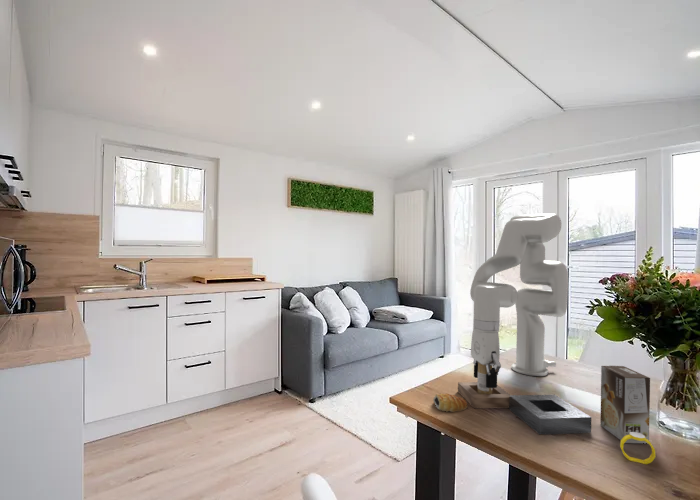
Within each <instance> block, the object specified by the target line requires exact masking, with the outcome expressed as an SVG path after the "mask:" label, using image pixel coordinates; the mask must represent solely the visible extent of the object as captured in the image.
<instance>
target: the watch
mask: <svg viewBox="0 0 700 500" xmlns="http://www.w3.org/2000/svg"><path fill="white" fill-rule="evenodd" d="M628 439H635V440H638V441H645V442H647V443H648V444H647V445H649V446H650V448H651V454H649V457H647V458H645V459H641V458H637V457H632V456H629V455H628V454H627V453H626V452H625V450H624V447H625V444H626V443H625V442H626V441H627V440H628ZM619 446H620V449H621V452H622V454H623V457H625V458H626V459H627V460H628V461H630V462H634V463H638V464H643V465H648V464H651V463H652V462H653V461H654V460H655V459H656V448H655V447H654V446H653V444H652V442H651V441H650V439H649V440H647V439H646V438H645V436H644V435H643V434H641V433H637V432H630V433H629V435H626V436H624V437H623V438H622V439H621V440H620V443H619Z"/></svg>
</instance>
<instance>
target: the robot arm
mask: <svg viewBox="0 0 700 500" xmlns="http://www.w3.org/2000/svg"><path fill="white" fill-rule="evenodd" d="M561 230H562V220H561V217H560V216H559V215H558V214H556V213H535V214H534V213H532V214H531V213H530V214H519V215H518V214H517V215H515V216H513V217H511V218H510V220H508V221H507V222H506V224H504V227H503V231H502V233H501V237H500V239H499V243H498V245H497V249H496V252H495V254H494V255H492V256H491V257H490V258H488V259H486V260H485V262H484V263H482V265H480V266H479V267H478V268H477V269H476V272H475V274H474V276H473V279H472V283H471V285H470V291H469V292H470V293H469V294H470V295H469V296H470V299H471V301H472V302H473V323H472V325H473V327H472V334H471V340H470V341H471V343H470V344H471V345H470V346H471V347H470V356H471V358H473V378H474V379H478V362H479V363H481V364H482V365H486V368H487V373H488V374H486V387H487V388H496V387H497V385H498V375H499V372H500V370H501V367H502V364H501V362H500V355H501V354H500V352H501V351H500V336H499V335H500V334H499V332H500V319H501V318H500V314H501V308H504V309H505V308H511V307H513V306H514V305H515V310H516V346H515V347H516V351H515V355H516V356H515V362H514V363H512V364H511V369H512V371H514V372H517V373H519V374H521V375H527V376H532V377H544V376H547V375H549V370H548V367H552V368H553V367H557V363H556V362H555V361H549V360H548V359H547V360H546V359H545V333H546V332H545V330H546V329H545V325H544V322H543V320H542V318H541V317H540V316H547V317H552V318H553V317H554V318H561V317H563V316H565V315H566V314H567V309H568V292H569V291H568V286H569V285H568V283H569V274H568V273H569V272H568V268H567V266H566V265H565V264H564V262H561V261H558V260H546V246H545V244H544V243H548V242H549V241H552V240H554V238H557V236H559V234H560V233H561ZM517 266H519V278H520V281H521V282H522V283H523V284H525V285H530V286H541V287H550V288H551V290H550V289H549V290H548V289H541V288H531V287H530V288H529V287H526V288H525V287H524V288H521V289H519V290H517V288H516V287H515V286H513V285H512V284H507V283H501V282H489V281H488V280H490V278H492V276H494V275H496V274H498V273H500V272H503V271H506V270H509V269H513V268H515V267H517ZM489 362H493V364H489ZM490 366H493V368H492V369H491V370H490Z"/></svg>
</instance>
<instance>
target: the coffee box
mask: <svg viewBox="0 0 700 500" xmlns="http://www.w3.org/2000/svg"><path fill="white" fill-rule="evenodd" d="M600 369H601V371H600V372H601V373H600V375H601V376H600V419H599V420H600V422H599V423H600V427H602V428H604V429H605V430H606V431H608V432H609V433H610V434H612V436H614V437H615V438H617V439H618V440H619V441H621V439H622V438H623V437H624V436H626V435H629V433H630V432H637V433H641V434H643V435H644V436H645V438H646V439H647V440H649V441H650V417H651V416H650V413H651V412H650V402H651V377H649V376H646V375H645V374H642V373H641V372H638V371H635V370H634V369H632V368H628V367H627V366H625V365H624V366H623V365H601V367H600ZM643 443H644V445H645V444H646V443H647V442H645V441H638V440H635V439H628V440H627V441H626V442H625V443H624V444H643ZM646 445H649V444H648V443H647V444H646Z"/></svg>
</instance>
